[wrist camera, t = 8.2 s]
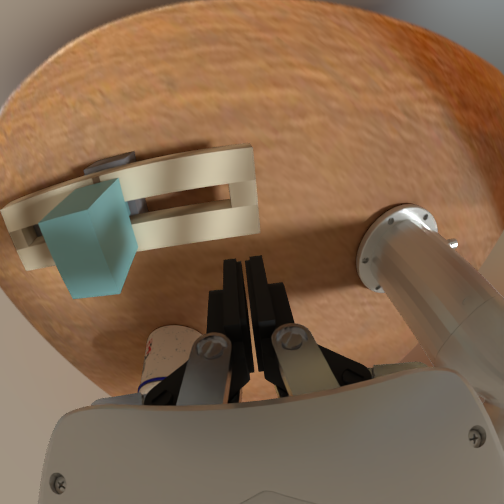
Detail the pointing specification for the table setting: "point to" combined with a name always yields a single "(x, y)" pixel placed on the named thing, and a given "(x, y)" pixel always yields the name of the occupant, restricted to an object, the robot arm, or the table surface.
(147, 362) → the teacup with lid
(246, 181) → the beam
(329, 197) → the table surface
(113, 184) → the block
